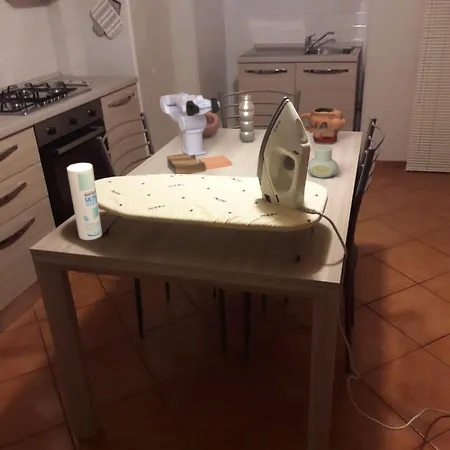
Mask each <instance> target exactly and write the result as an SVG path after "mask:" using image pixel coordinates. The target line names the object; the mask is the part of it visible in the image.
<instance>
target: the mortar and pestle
mask: <svg viewBox="0 0 450 450" xmlns="http://www.w3.org/2000/svg"><path fill="white" fill-rule="evenodd" d="M204 116H205V118H206V127H205V129H204V131H203V132H202V137H204V138H208V137H211V136H214V135H215V134H216V133H217V132H218V130H219V127H220V119H219V116H218V115H217V113H212V111H208V112H206V113H205V114H204Z"/></svg>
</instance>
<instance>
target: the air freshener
mask: <svg viewBox="0 0 450 450" xmlns="http://www.w3.org/2000/svg"><path fill="white" fill-rule="evenodd" d="M332 157H333V148H332V147H331V146H327V145H317V146H316V147H315V148H314V157H313V158H312V159H310V160H309V161H308V162H309V169H308V170H307V172H308V173H309V174H310V175H311V176H313V177H316V178H318V179H325V178H326V179H327V178H330V177H332V176H334V175H335V174H337V172H338V171H339V165H338V163H337V161H336V160H334V159H333V158H332Z"/></svg>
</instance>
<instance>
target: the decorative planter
mask: <svg viewBox="0 0 450 450" xmlns="http://www.w3.org/2000/svg"><path fill="white" fill-rule="evenodd" d="M299 117H301V119H302V120H304V119H308V121H309V122H308V126H305V129H306V130H305V129H304V130H305V131H307V132H309V133H310V134H313V137H312V138H313V141H314V143H316V144H325V145H326V144H329V145H330V144H334V143H337V141H338V133H339V131H340V130H342V129H343V128H344V127H345V126H346V125H347V120H346V119H345V118H344V116H343V112H342V111H341V110H338V109H336V108H332V107H331V108H330V107H317V108H313V109H312V110H311V112H310V113H309V112H305V113H302V114H300V115H299Z"/></svg>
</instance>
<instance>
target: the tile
mask: <svg viewBox="0 0 450 450" xmlns="http://www.w3.org/2000/svg"><path fill="white" fill-rule="evenodd" d="M202 162H204V163H205V171H207V170H208V169H209V170H215V169H220V168H225V167H231V166H232V161H231V160H230V159H228V157H226V156H225V155H222V154H221V155H216V156H215V155H214V156H210V157H203V158H199V159H198V163H202Z"/></svg>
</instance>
